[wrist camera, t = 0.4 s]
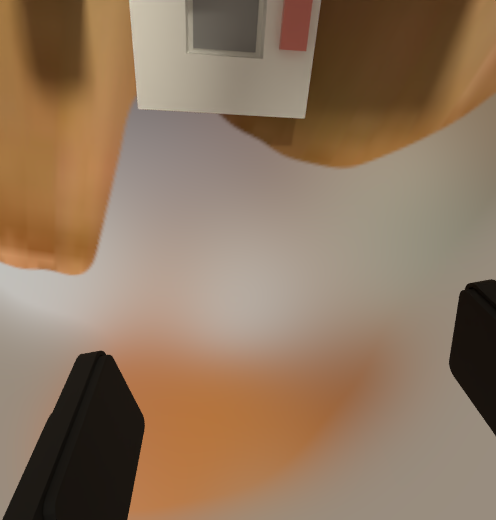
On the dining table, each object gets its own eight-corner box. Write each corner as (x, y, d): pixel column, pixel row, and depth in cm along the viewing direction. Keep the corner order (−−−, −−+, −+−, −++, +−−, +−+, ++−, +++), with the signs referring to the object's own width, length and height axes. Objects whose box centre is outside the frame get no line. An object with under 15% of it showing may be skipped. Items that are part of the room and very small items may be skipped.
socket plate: (129, -112, 26) (115, -134, 22) (323, -90, 27) (338, -108, 24) (144, 103, 33) (136, 110, 29) (297, 112, 34) (306, 120, 31)
